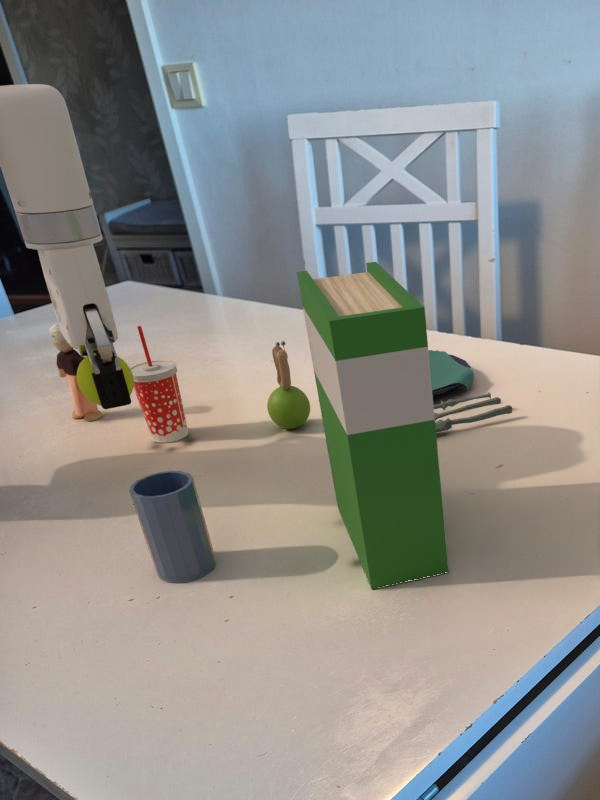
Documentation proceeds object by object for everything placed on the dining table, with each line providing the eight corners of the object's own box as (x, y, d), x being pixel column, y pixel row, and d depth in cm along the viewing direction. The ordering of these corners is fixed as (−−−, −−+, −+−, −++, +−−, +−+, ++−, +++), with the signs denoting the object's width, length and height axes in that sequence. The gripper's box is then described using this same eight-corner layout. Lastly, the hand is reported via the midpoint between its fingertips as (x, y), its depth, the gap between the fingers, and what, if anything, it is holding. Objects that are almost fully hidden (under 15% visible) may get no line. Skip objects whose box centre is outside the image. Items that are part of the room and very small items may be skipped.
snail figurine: (277, 441, 107) (257, 345, 99) (268, 424, 111) (248, 332, 104) (319, 432, 108) (302, 338, 101) (308, 416, 113) (291, 325, 106)
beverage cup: (164, 425, 113) (133, 318, 105) (203, 428, 112) (175, 320, 103) (136, 443, 109) (102, 333, 100) (177, 446, 107) (144, 335, 99)
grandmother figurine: (59, 420, 117) (24, 327, 109) (77, 410, 120) (45, 318, 112) (104, 424, 115) (72, 329, 107) (121, 413, 118) (92, 321, 110)
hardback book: (337, 507, 91) (296, 272, 76) (404, 495, 92) (375, 261, 78) (371, 589, 77) (329, 321, 63) (448, 572, 79) (424, 307, 64)
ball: (81, 416, 95) (64, 363, 91) (90, 398, 100) (74, 347, 96) (136, 411, 96) (121, 358, 92) (142, 393, 101) (129, 343, 97)
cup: (154, 586, 80) (125, 501, 74) (160, 557, 84) (133, 475, 79) (214, 578, 80) (190, 492, 75) (217, 549, 85) (194, 467, 79)
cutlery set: (440, 355, 131) (439, 340, 130) (528, 416, 109) (528, 399, 107) (317, 379, 125) (314, 364, 123) (383, 450, 102) (381, 432, 101)
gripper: (10, 220, 91) (64, 384, 102) (33, 245, 79) (91, 428, 90) (82, 212, 94) (127, 371, 105) (115, 235, 82) (162, 413, 93)
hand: (110, 396), depth 97 cm, fingers closed on ball, 5 cm apart
